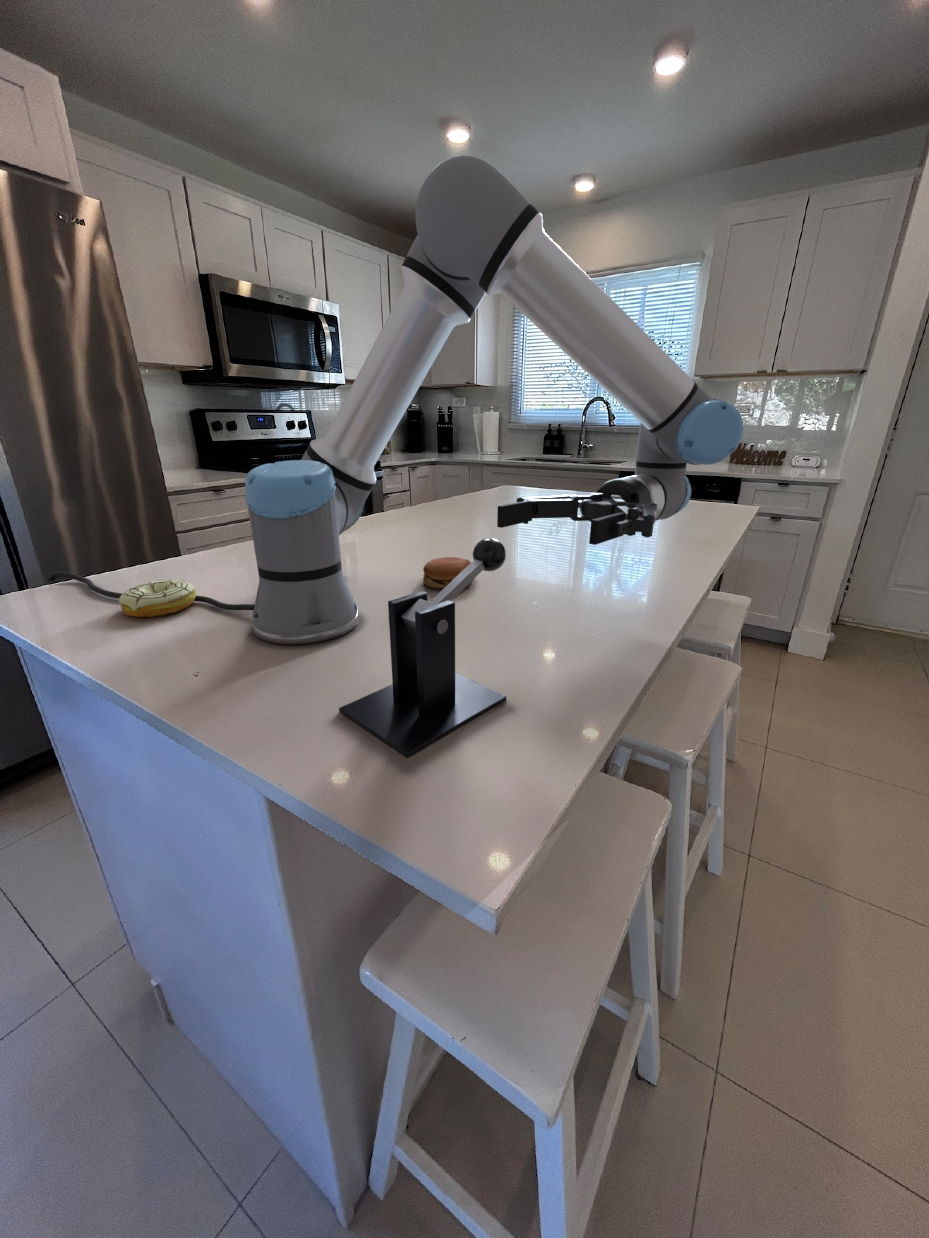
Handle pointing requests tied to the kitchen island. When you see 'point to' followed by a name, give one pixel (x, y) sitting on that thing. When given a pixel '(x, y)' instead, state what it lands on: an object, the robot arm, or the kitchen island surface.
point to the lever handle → (462, 577)
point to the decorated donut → (157, 598)
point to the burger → (443, 571)
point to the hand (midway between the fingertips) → (542, 524)
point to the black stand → (421, 683)
